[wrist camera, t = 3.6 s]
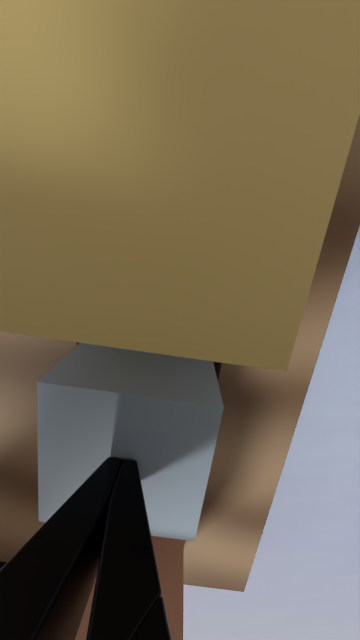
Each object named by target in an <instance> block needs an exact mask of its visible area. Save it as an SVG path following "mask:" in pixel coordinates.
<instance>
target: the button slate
mask: <svg viewBox="0 0 360 640" xmlns="http://www.w3.org/2000/svg"><path fill="white" fill-rule="evenodd" d="M223 409H224V406H223V401H222V397H221V393H220V389H219V385H218V380H217V376H216V372H215V368H214V363H213V361H206V360H199V359H192V358H185V357H178V356H171V355H164V354H156V353H149V352H142V351H135V350H128V349H121V348H114V347H107V346H100V345H92V344H85V343H79V344H78V345H77V346H76V347H75V348H74V349H72V350H71V351H70V352H69V353H68V354H67V355H66V356H65V357H64V358H62V359H61V360H60V361H59V362H58V363H57V364H56V365H55V366H54V367H53V368H51V369H50V370H49V371H48V372H47V373H46V374H45V375H44V376H43V377H42V378H40V379H39V380H38V381H37V432H38V509H39V521H40V522H46V521H47V520H48V519H49V518H50V517H51V516H52V515H53V514H54V513H55V512H56V511H57V510H58V509H59V508H60V507H61V506H62V505H63V504H64V503H65V502H66V500H67V499H68V498H69V497H70V496H71V495H72V494H73V493H74V492H75V491H76V490H77V489H78V488H79V487H80V486H81V485H82V484H83V483H84V482H85V481H86V480H87V479H88V478H89V476H90V475H91V474H92V473H93V472H94V471H95V470H96V469H97V468H98V467H99V466H100V465H101V464H102V463H103V462H104V461H105V460H106V459H107V458H108V457H118V458H121V459H122V461H123V459H133V460H136V461H137V463H138V469H139V474H140V479H141V484H142V490H143V495H144V500H145V506H146V511H147V516H148V521H149V527H150V532H151V536H157V537H165V538H173V539H181V540H188V541H195V537H196V533H197V528H198V523H199V519H200V514H201V510H202V505H203V501H204V496H205V491H206V487H207V482H208V478H209V473H210V469H211V464H212V460H213V455H214V450H215V446H216V441H217V437H218V432H219V428H220V423H221V418H222V414H223Z"/></svg>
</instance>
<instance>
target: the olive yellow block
mask: <svg viewBox="0 0 360 640" xmlns="http://www.w3.org/2000/svg"><path fill="white" fill-rule="evenodd" d="M359 115H360V0H0V332H7V333H14V334H21V335H28V336H36V337H43V338H50V339H57V340H64V341H71V342H78V343H85V344H92V345H100V346H107V347H114V348H121V349H128V350H135V351H142V352H149V353H156V354H164V355H171V356H178V357H185V358H192V359H199V360H206V361H213V362H220V363H228V364H235V365H242V366H249V367H256V368H263V369H270V370H277V371H284V372H287V368H288V365H289V361H290V358H291V354H292V351H293V347H294V344H295V340H296V337H297V333H298V329H299V326H300V322H301V319H302V315H303V312H304V308H305V305H306V301H307V298H308V294H309V291H310V287H311V284H312V280H313V277H314V273H315V270H316V266H317V263H318V259H319V256H320V252H321V249H322V245H323V242H324V238H325V234H326V231H327V227H328V224H329V220H330V217H331V213H332V210H333V206H334V203H335V199H336V196H337V192H338V189H339V185H340V182H341V178H342V175H343V171H344V168H345V164H346V161H347V157H348V154H349V150H350V147H351V143H352V139H353V136H354V132H355V129H356V125H357V122H358V118H359Z"/></svg>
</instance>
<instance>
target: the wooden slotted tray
mask: <svg viewBox="0 0 360 640" xmlns="http://www.w3.org/2000/svg"><path fill="white" fill-rule="evenodd" d="M359 225H360V115H359V118H358V122H357V125H356V129H355V132H354V136H353V139H352V143H351V147H350V150H349V154H348V157H347V161H346V164H345V168H344V171H343V175H342V178H341V182H340V185H339V189H338V192H337V196H336V199H335V203H334V206H333V210H332V213H331V217H330V220H329V224H328V227H327V231H326V234H325V238H324V242H323V245H322V249H321V252H320V256H319V259H318V263H317V266H316V270H315V273H314V277H313V280H312V284H311V287H310V291H309V294H308V298H307V301H306V305H305V308H304V312H303V315H302V319H301V322H300V326H299V329H298V333H297V337H296V340H295V344H294V347H293V351H292V354H291V358H290V361H289V365H288V368H287V372H284V371H277V370H270V369H263V368H256V367H249V366H242V365H235V364H228V363H220V362H213V363H214V368H215V372H216V376H217V380H218V385H219V389H220V393H221V397H222V401H223V406H224V409H223V414H222V418H221V423H220V428H219V432H218V437H217V441H216V446H215V450H214V455H213V460H212V464H211V469H210V473H209V478H208V482H207V487H206V491H205V496H204V501H203V505H202V510H201V514H200V519H199V523H198V528H197V533H196V537H195V541H188V540H184V567H183V584H186V585H194V586H202V587H210V588H218V589H226V590H234V591H242V592H244V589H245V586H246V583H247V580H248V577H249V573H250V570H251V567H252V564H253V561H254V558H255V554H256V551H257V548H258V545H259V542H260V539H261V535H262V532H263V529H264V526H265V523H266V520H267V516H268V513H269V510H270V507H271V504H272V501H273V497H274V494H275V491H276V488H277V485H278V482H279V478H280V475H281V472H282V469H283V466H284V463H285V459H286V456H287V453H288V450H289V447H290V444H291V440H292V437H293V434H294V431H295V428H296V425H297V421H298V418H299V415H300V412H301V409H302V406H303V402H304V399H305V396H306V393H307V390H308V387H309V384H310V380H311V377H312V374H313V371H314V368H315V365H316V361H317V358H318V355H319V352H320V349H321V346H322V342H323V339H324V336H325V333H326V330H327V327H328V323H329V320H330V317H331V314H332V311H333V308H334V304H335V301H336V298H337V295H338V292H339V289H340V285H341V282H342V279H343V276H344V273H345V270H346V266H347V263H348V260H349V257H350V254H351V251H352V247H353V244H354V241H355V238H356V235H357V232H358V228H359ZM78 344H79V343H78V342H71V341H64V340H57V339H50V338H43V337H36V336H28V335H21V334H14V333H7V332H0V561H1V562H8V561H9V560H10V559H11V558H12V557H13V556H14V555H15V554H16V553H17V552H18V551H19V550H20V548H21V547H22V546H23V545H24V544H25V543H26V542H27V541H28V540H29V539H30V538H31V537H32V536H33V535H34V534H35V533H36V532H37V531H38V530H39V529H40V528H41V527H42V526H43V524H44V523H45V522H40V521H39V509H38V432H37V381H38V380H39V379H40V378H42V377H43V376H44V375H45V374H46V373H47V372H48V371H49V370H50V369H51V368H53V367H54V366H55V365H56V364H57V363H58V362H59V361H60V360H61V359H62V358H64V357H65V356H66V355H67V354H68V353H69V352H70V351H71V350H72V349H74V348H75V347H76V346H77V345H78Z"/></svg>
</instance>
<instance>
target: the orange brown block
mask: <svg viewBox="0 0 360 640" xmlns="http://www.w3.org/2000/svg"><path fill="white" fill-rule="evenodd" d="M151 537H152V543H153V548H154V553H155V558H156V564H157V569H158V574H159V580H160V585H161V590H162V597H163V600H164V605H165V610H166V616H167V621H168V625H169V630H170V635H171V639H172V640H183V567H184V540H181V539H173V538H165V537H157V536H151ZM96 577H97V575H96ZM95 583H96V578H95V581H94V584H93V587H92V590H91V593H90V596H89V599H88V602H87V605H86V608H85V611H84V614H83V617H82V620H81V623H80V626H79V629H78V632H77V635H76V638H75V640H86V637H87V631H88V625H89V619H90V613H91V607H92V601H93V595H94V589H95Z"/></svg>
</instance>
